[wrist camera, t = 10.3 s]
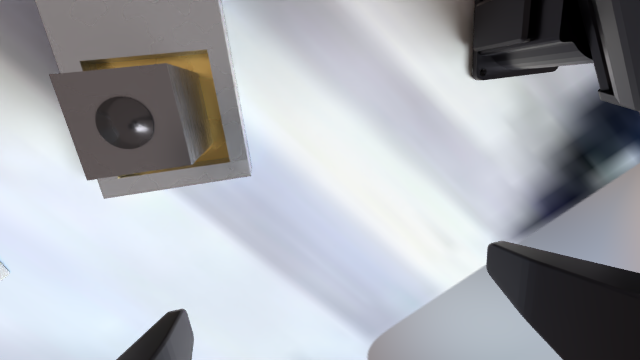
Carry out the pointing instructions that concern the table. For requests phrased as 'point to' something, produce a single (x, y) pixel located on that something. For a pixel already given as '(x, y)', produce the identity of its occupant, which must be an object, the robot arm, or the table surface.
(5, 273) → the supplement box
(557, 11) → the robot arm
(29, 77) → the table surface
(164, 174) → the metal tray
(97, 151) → the metal drawer with knob
